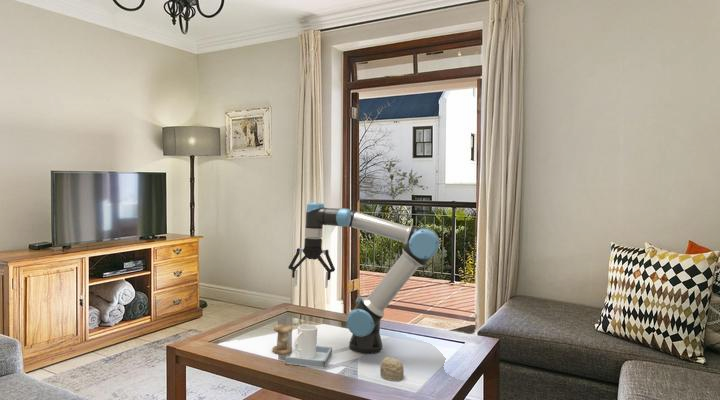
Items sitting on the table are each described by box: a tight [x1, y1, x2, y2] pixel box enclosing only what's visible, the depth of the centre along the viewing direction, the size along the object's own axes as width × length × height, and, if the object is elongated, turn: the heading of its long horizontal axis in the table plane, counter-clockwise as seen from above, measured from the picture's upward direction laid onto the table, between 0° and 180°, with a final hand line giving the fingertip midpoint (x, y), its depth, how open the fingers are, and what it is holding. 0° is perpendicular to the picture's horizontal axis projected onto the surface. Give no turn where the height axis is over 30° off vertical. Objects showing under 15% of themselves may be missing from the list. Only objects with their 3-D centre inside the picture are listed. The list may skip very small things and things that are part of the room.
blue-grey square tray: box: [284, 345, 333, 370], centre depth 186 cm, size 16×17×3 cm
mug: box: [294, 324, 318, 359], centre depth 186 cm, size 12×8×12 cm
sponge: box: [379, 356, 405, 382], centre depth 174 cm, size 9×10×10 cm
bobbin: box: [271, 324, 294, 355], centre depth 193 cm, size 8×8×10 cm
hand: (310, 286), depth 196 cm, fingers open, 13 cm apart
